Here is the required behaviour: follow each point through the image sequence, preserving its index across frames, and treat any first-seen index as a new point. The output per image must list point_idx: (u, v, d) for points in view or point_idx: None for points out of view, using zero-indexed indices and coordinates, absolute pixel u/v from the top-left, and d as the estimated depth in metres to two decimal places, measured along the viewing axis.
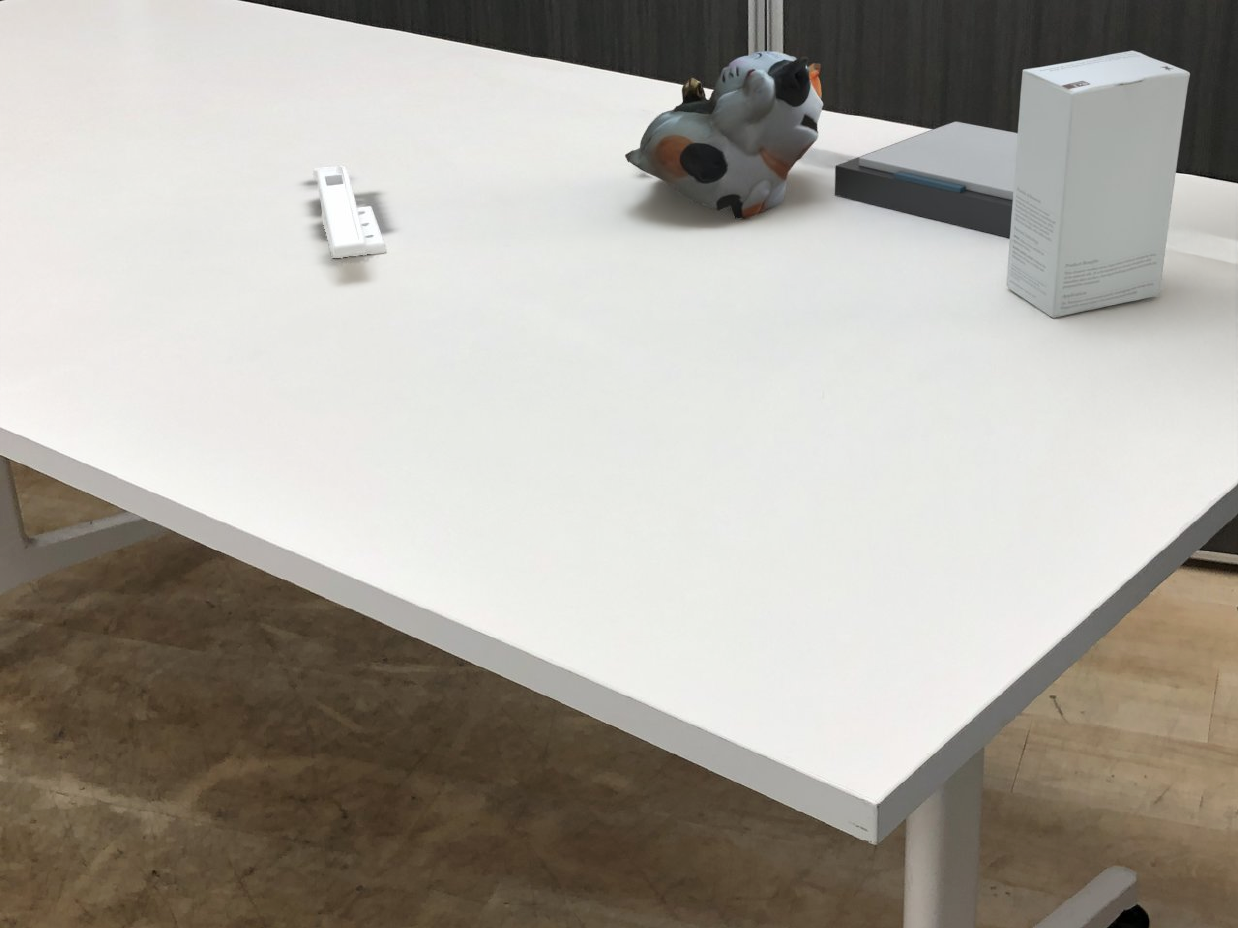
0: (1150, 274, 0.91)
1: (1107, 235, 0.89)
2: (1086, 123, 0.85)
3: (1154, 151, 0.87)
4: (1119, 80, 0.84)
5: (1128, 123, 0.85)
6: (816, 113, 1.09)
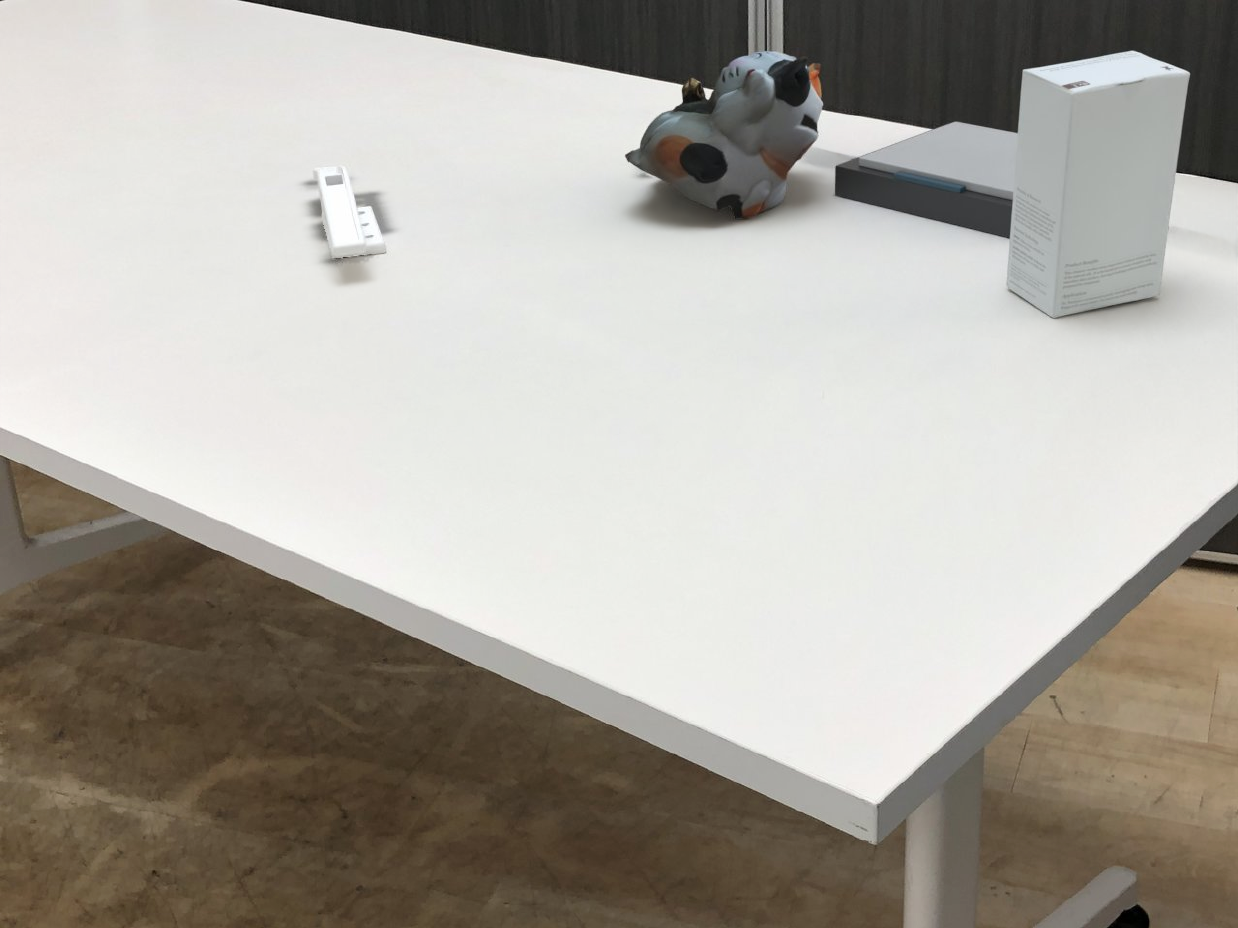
0: (1150, 274, 0.91)
1: (1107, 235, 0.89)
2: (1086, 123, 0.85)
3: (1154, 151, 0.87)
4: (1119, 80, 0.84)
5: (1128, 123, 0.85)
6: (816, 113, 1.09)
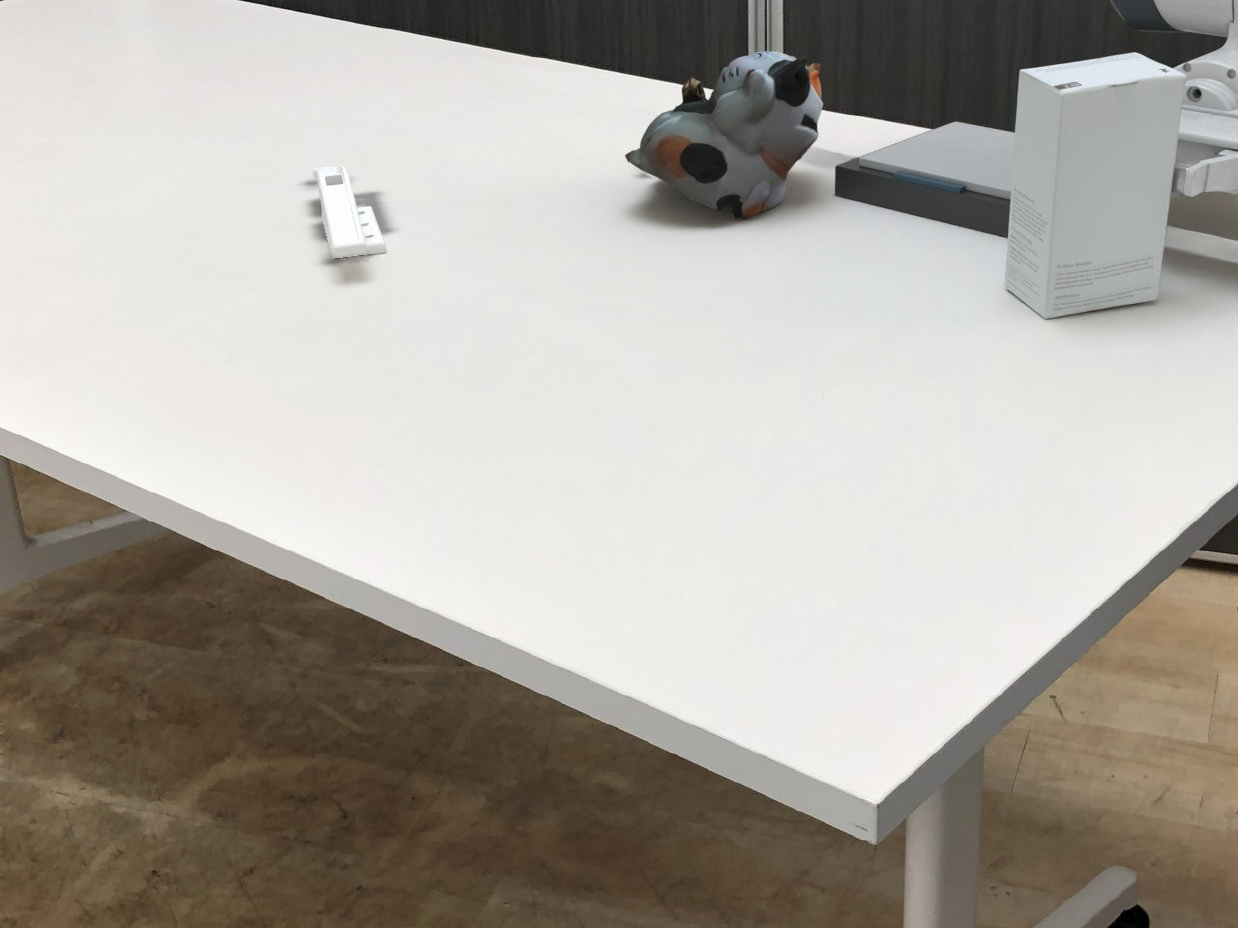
0: (1147, 278, 0.91)
1: (1100, 237, 0.88)
2: (1077, 124, 0.84)
3: (1150, 154, 0.87)
4: (1112, 81, 0.84)
5: (1121, 125, 0.85)
6: (816, 113, 1.09)
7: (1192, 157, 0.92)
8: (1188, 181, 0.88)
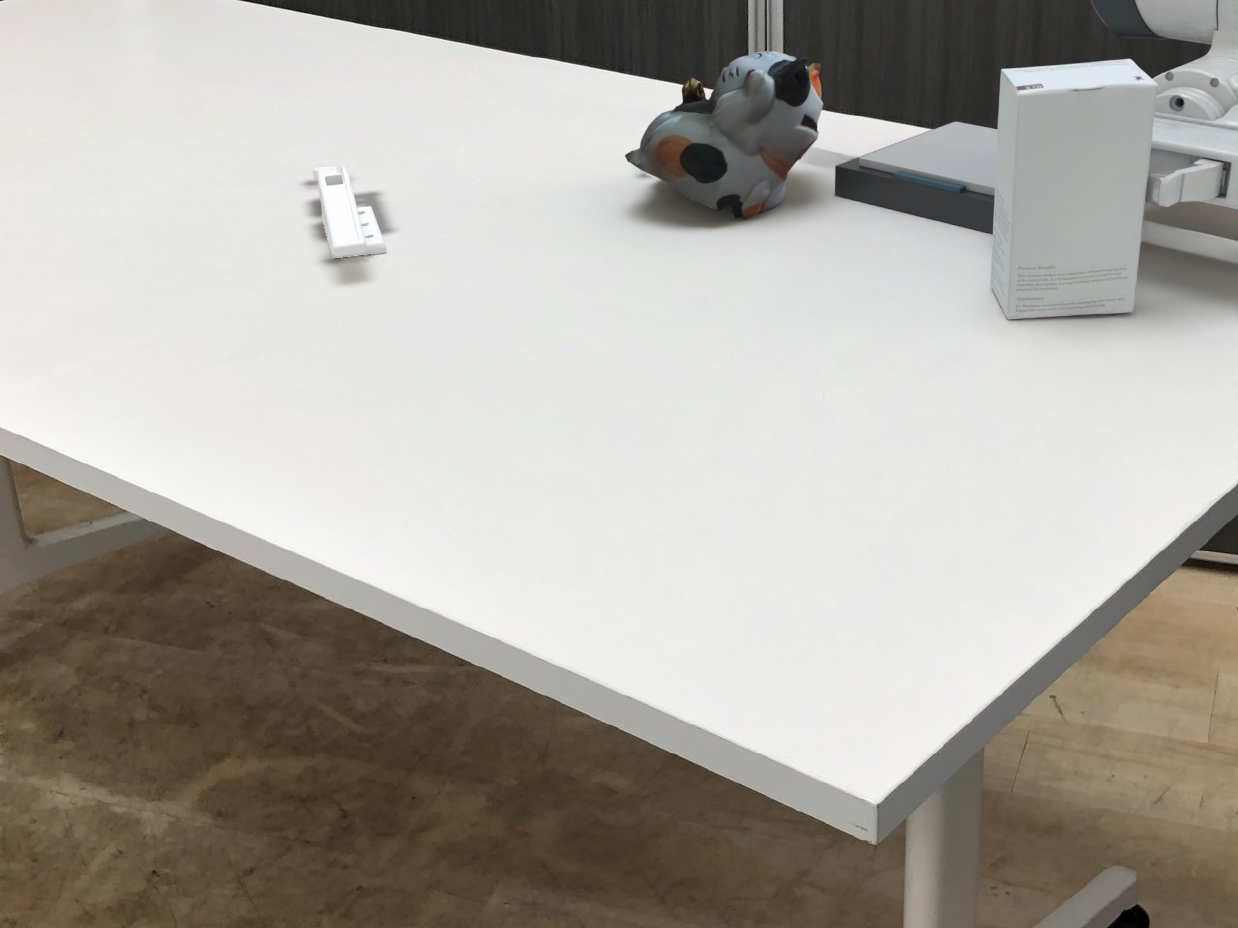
0: (1121, 289, 0.90)
1: (1064, 242, 0.88)
2: (1035, 126, 0.85)
3: (1118, 162, 0.85)
4: (1075, 86, 0.84)
5: (1084, 130, 0.85)
6: (816, 113, 1.09)
7: (1175, 167, 0.91)
8: (1163, 191, 0.86)
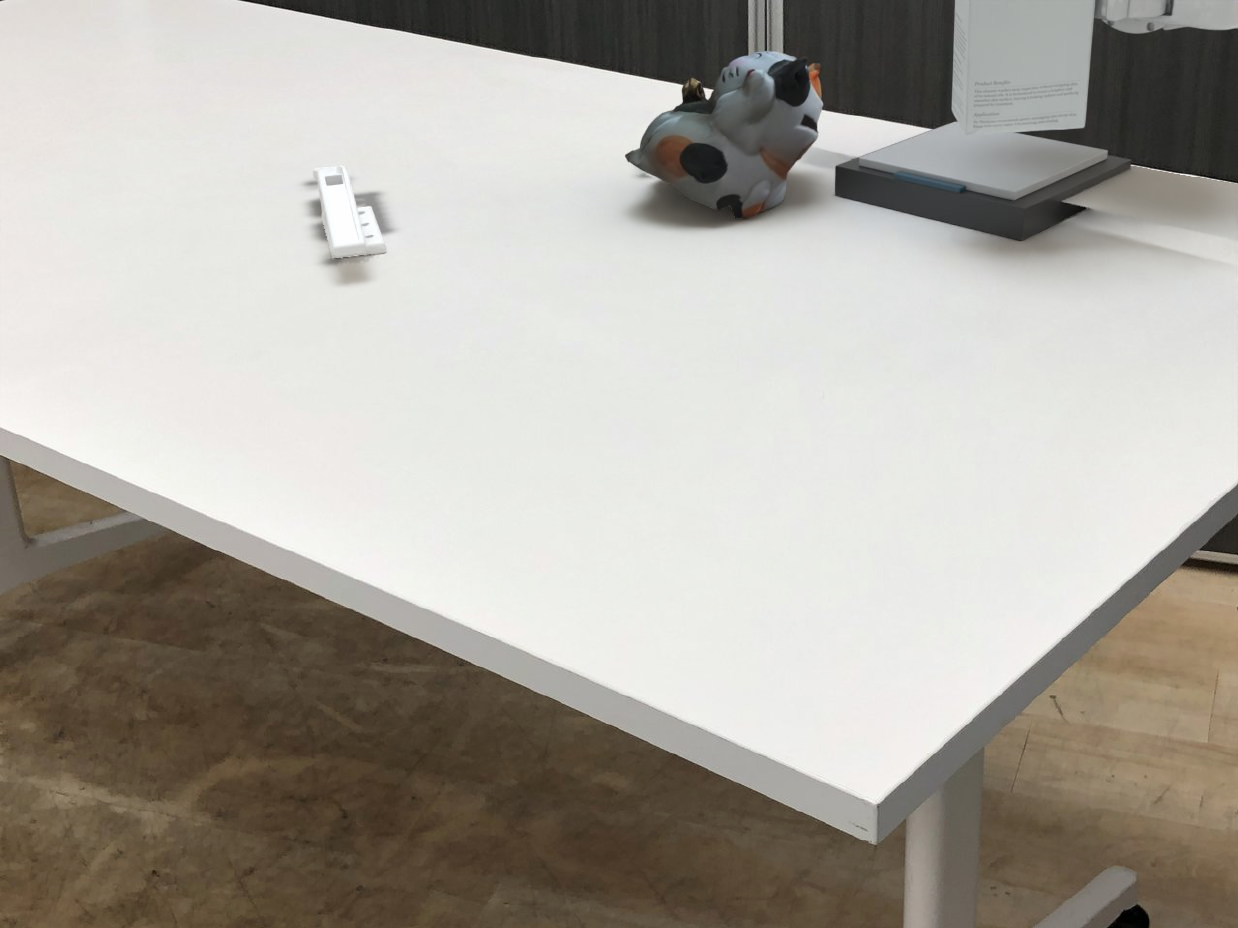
0: (1072, 104, 0.95)
1: (1018, 57, 0.93)
2: None
3: None
4: None
5: None
6: (816, 113, 1.09)
7: None
8: (1110, 5, 0.91)
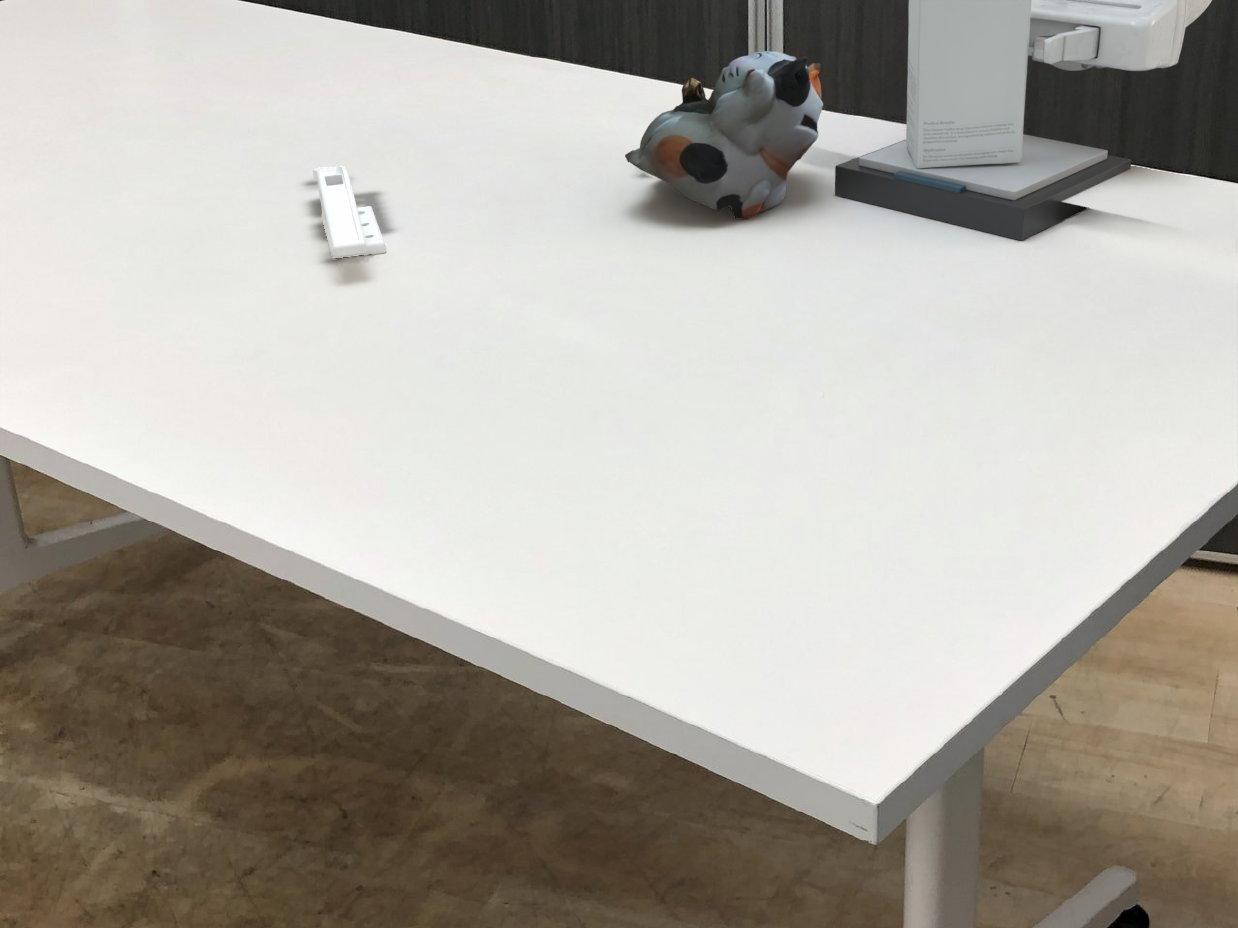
0: (1010, 142, 1.08)
1: (961, 100, 1.06)
2: (934, 0, 1.03)
3: (1004, 31, 1.04)
4: None
5: (975, 4, 1.03)
6: (816, 113, 1.09)
7: None
8: (1047, 50, 1.04)
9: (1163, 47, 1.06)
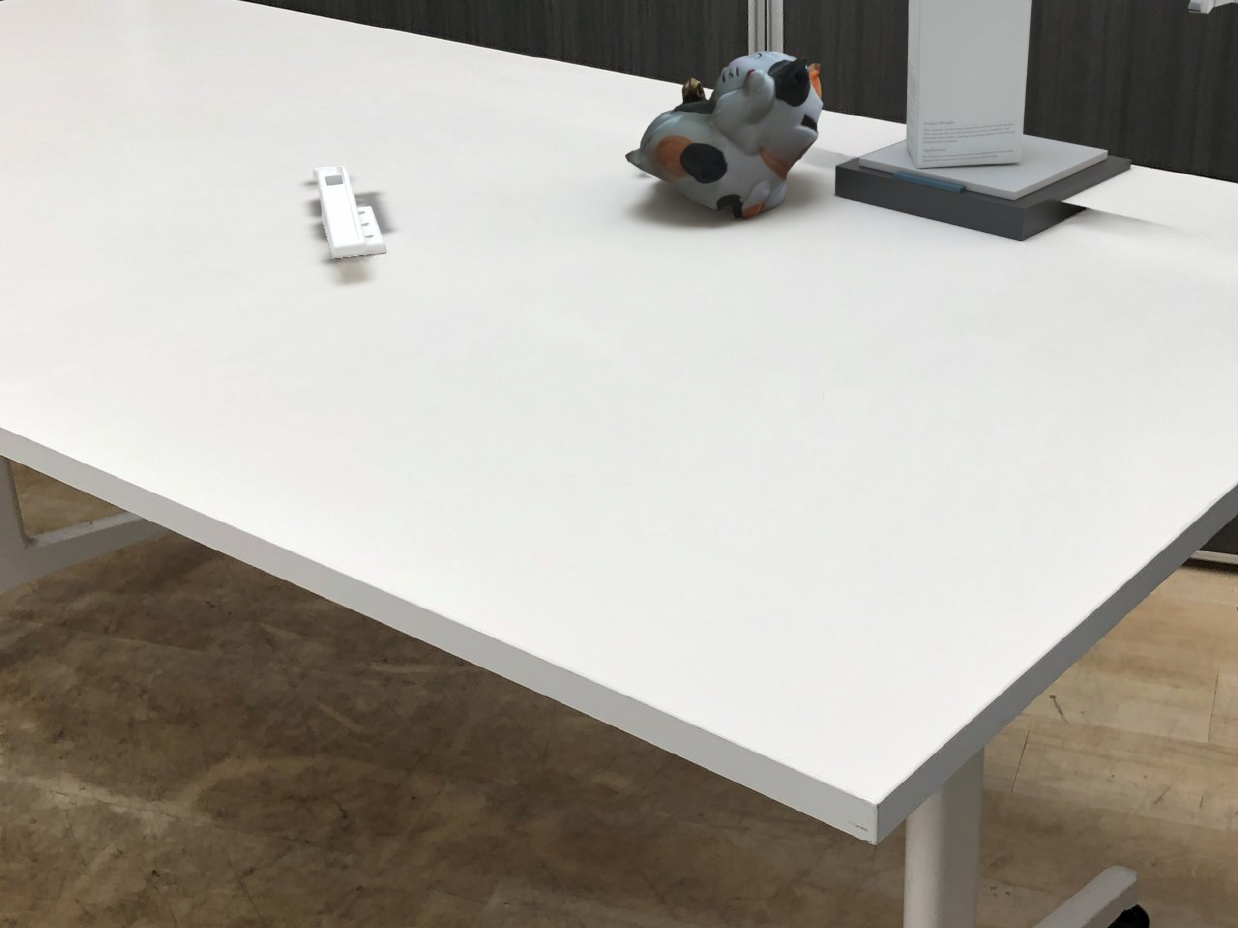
0: (1010, 142, 1.08)
1: (961, 100, 1.06)
2: (934, 0, 1.03)
3: (1004, 31, 1.04)
4: None
5: (975, 4, 1.03)
6: (816, 113, 1.09)
7: None
8: (1205, 2, 1.08)
9: None
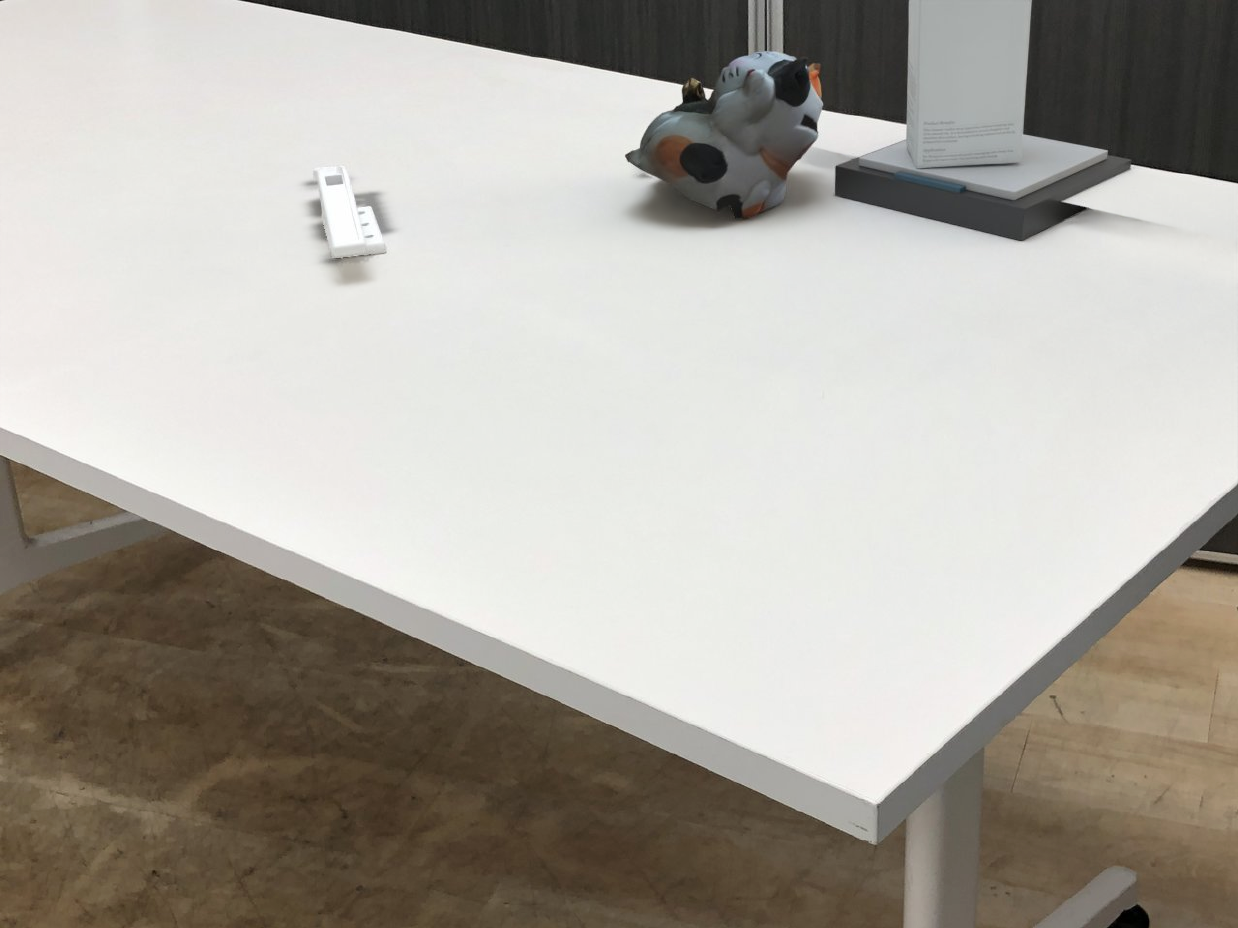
0: (1010, 142, 1.08)
1: (961, 100, 1.06)
2: (934, 0, 1.03)
3: (1004, 31, 1.04)
4: None
5: (975, 4, 1.03)
6: (816, 113, 1.09)
7: None
8: None
9: None
